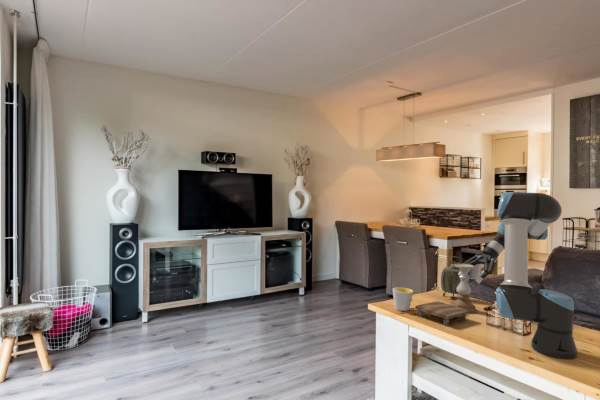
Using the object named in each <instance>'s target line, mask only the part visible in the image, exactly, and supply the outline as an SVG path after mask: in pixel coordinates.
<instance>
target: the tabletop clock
mask: <svg viewBox="0 0 600 400" xmlns="http://www.w3.org/2000/svg"><path fill="white" fill-rule="evenodd" d="M452 258H456V259H457V258H458V259H459V260H460V261H458V262H456V260H453V261H451V260H450V259H452ZM448 262H450V263H451V264H450V266H446V267H445V266H444V267H443V268H442V271H441V275H440V287H441V291H442V292H443V293H442V296H443V297H444V296H446V293H449V294H452V296H451V299H452V300H455V298H456V297H455V295H458V294H459V293H458V292H457V291H456V288H457V286H458V285H459V284H460V282H461V280H460V277H459V275H458V273H459V272H460V270H459V268H458V267H455V264H461V262H462V259H461V258H460V257H459V256H455V255H452V256H449V257H448Z"/></svg>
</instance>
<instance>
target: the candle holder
mask: <svg viewBox="0 0 600 400" xmlns="http://www.w3.org/2000/svg"><path fill="white" fill-rule="evenodd" d="M455 267H458V268H459V270H460V271H461V274H460V276H459V277H460V280H461V282H460V284H459V285H458V286H457V288H456V291H457V292H458V293H459V294H456V296H457V297H456V298H457V299H456V300H451V301H450V302H449V303H448V304H449V305H453V306H456V307H460V308H463V309H466V310H470V314H478V309H477V308H476V306H475V305H474V304H473V303H472V302H471V301H470V294H471V293H472V289H471V287H470V285H469V282H468V281H469V279H470V276H469V272H470V271H471V270H473V269H474V270H475V268H476V265H475V266H474V265H470V264H463V263H456V264H455Z"/></svg>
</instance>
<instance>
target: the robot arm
mask: <svg viewBox="0 0 600 400" xmlns="http://www.w3.org/2000/svg"><path fill="white" fill-rule="evenodd" d="M561 215H562V206H561V204H560V202H559V201H558V200H557V199H556V198H554V197H553V196H552V195H550V194H547V193H542V192H523V191H522V192H521V191H519V192H518V191H511V192H509V191H508V192H507V191H505V192H502V194H501V195H500V198H499V203H498V207H497V215H496V216H497V217H496V218H498V219H500V223H499V225H498V227H497V232H496V235H495V236H494V238H492V240H490V242H489V243H488V244H487V246H485V247H484V248H483V250H482V254H479V253H476V254H475V255H474V256H472V257H471V258H469V259H468V260H466V261H464V262H463V263H462V264H470V265H474V266H475V267H476V266H477V265H481V264H482V265H484V269H483V270H482V271H481V273H479V274H478V276H477V277H476V278H475V279H474V281H476V283H477V284H479V285H480V283H481V282H482V281H483V280H484V279H485V278H486V277H487V276H488V275H491V276H492V275H493V274H494V271H495V267H496V264H497V263H498V260H497V258H498V257H499V255H501V253H502V252H503V251H504V271H503V272H504V275H503V277H504V278H503V281H502V282H501V283H500V284H499V287H497V288H496V290H495V298H496V306H497V310H498V311H497V312H498V313H499V315H500V316H501V317H502V318H506V319H511V320H517V321H525V322H529V323H530V322H532V323H537V324H536V325H537V326H536V330H535V332H534V335H533V337H531V341H530V343H531V348H532V349H533V350H535V351H536V352H538V353H540V354H543V355H546V356H549V357H553V358H557V359H567V360H568V359H570V360H572V359H576V358H577V357H578V348H577V345H576V341H575V340H574V339H575V338H574V336H573V331H574V330H573V329H574V312H575V304H574V303H575V302H574V299H573V298H572V297H571V296H569V295H567V294H565V293H562V292H559V291H555V290H551V289H545V288H543V289H542V288H541V289H539V290H538V292H533V286H531V285H530V284H529V271H528V270H529V268H528V266H529V264H528V263H529V262H528V251H529V250H528V249H529V247H528V246H529V245H528V240H537V241H540V240H543V241H544V240H546V239H548V235H549V234H548V233H549V232H548V230H549V229H548V228H549V226H551V224H552V223H555V222H556V221H558V220H559V219H560V218H561ZM460 274H461V271H460V272H459V273H458V275H459V276H460Z"/></svg>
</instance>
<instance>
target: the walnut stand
mask: <svg viewBox="0 0 600 400" xmlns="http://www.w3.org/2000/svg"><path fill="white" fill-rule="evenodd" d="M414 307H415V310H417V311H418V313H417V314H418V317H419V318H424V316H425V313H427V314H429V315H433V316H436V317H439V318H442V319H443V322H442V323H443V324H442V325H443V326H445V327H449V326H450V320H452V319H454V318H458V317H459V318H460V321H462V322H466V321H467V315H469V314H471V313H470V310H466V309H463V308H460V307H456V306H453V305H449V303H447V302H442V301H439V300H436V301H431V302H427V303H421V304H417V305H415V306H414Z"/></svg>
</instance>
